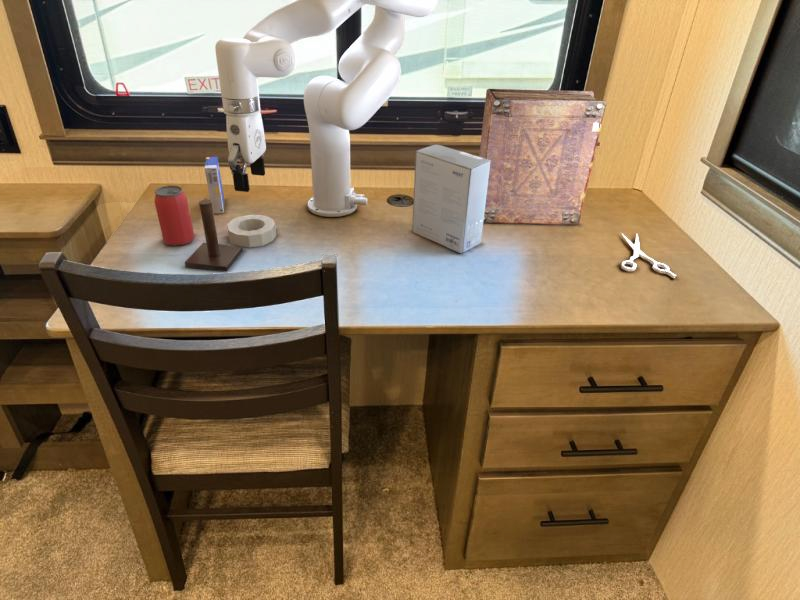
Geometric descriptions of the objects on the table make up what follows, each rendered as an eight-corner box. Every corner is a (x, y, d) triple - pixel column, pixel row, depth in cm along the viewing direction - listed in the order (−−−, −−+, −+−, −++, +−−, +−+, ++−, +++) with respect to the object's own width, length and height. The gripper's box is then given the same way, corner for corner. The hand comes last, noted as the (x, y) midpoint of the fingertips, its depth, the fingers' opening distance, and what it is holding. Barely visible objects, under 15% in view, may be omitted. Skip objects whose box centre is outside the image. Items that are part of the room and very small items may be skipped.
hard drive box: (482, 243, 129) (492, 160, 117) (461, 255, 124) (471, 169, 113) (431, 222, 137) (436, 142, 126) (410, 231, 133) (414, 150, 121)
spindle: (243, 251, 122) (235, 195, 115) (226, 271, 115) (217, 213, 107) (204, 247, 123) (193, 191, 116) (185, 267, 116) (173, 209, 108)
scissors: (625, 271, 119) (606, 229, 135) (624, 274, 119) (605, 231, 135) (676, 275, 118) (651, 232, 134) (675, 278, 118) (650, 235, 135)
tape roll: (281, 228, 132) (280, 217, 130) (266, 249, 123) (265, 237, 122) (239, 224, 133) (237, 212, 131) (221, 244, 124) (219, 232, 123)
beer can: (185, 248, 122) (174, 198, 115) (157, 245, 123) (145, 194, 116) (200, 235, 127) (190, 186, 121) (173, 232, 128) (163, 182, 122)
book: (568, 209, 146) (594, 91, 129) (578, 225, 138) (608, 101, 122) (472, 207, 145) (486, 88, 128) (477, 223, 138) (493, 98, 121)
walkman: (213, 201, 143) (205, 155, 137) (224, 200, 144) (217, 155, 137) (211, 214, 137) (203, 167, 130) (223, 213, 138) (216, 166, 131)
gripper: (243, 117, 108) (252, 199, 117) (272, 95, 122) (279, 170, 131) (206, 114, 108) (218, 196, 118) (240, 93, 123) (248, 167, 132)
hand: (250, 182), depth 125 cm, fingers open, 9 cm apart
